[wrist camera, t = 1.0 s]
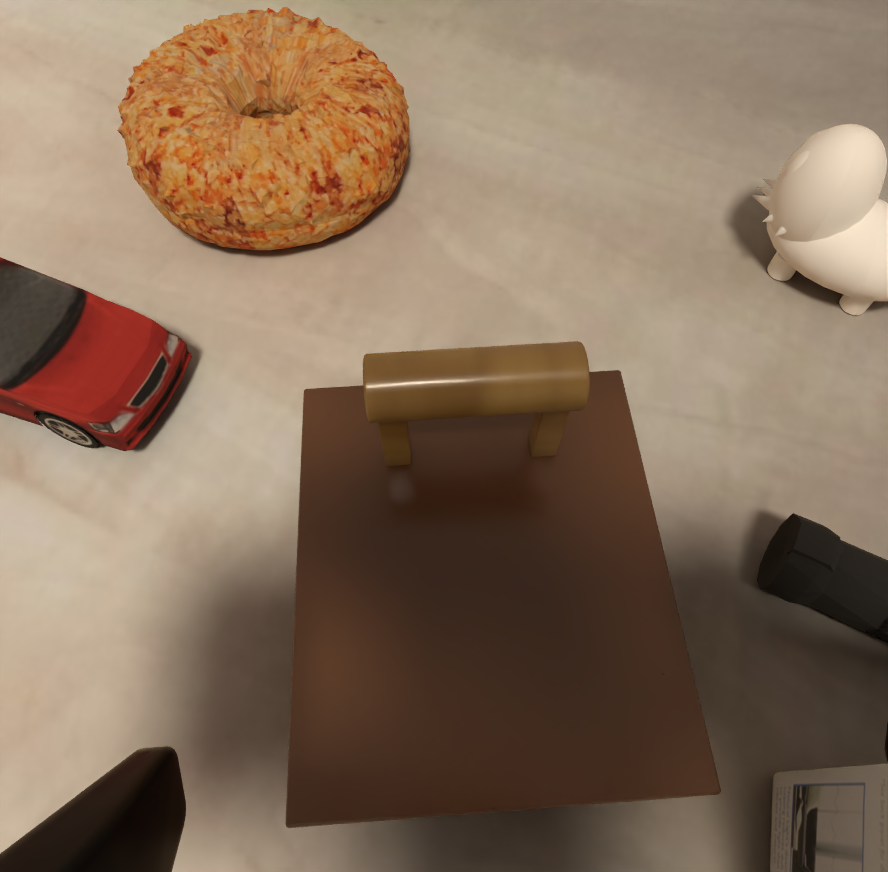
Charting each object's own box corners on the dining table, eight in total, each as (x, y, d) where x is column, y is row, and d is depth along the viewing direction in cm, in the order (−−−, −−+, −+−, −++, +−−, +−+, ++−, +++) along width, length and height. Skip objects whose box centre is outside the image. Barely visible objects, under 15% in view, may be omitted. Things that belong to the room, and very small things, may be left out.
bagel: (131, 283, 28) (73, 190, 24) (160, 92, 35) (119, -9, 31) (425, 257, 29) (420, 161, 25) (400, 73, 36) (393, -28, 31)
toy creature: (753, 206, 30) (819, 77, 25) (928, 283, 28) (1044, 159, 23) (710, 266, 29) (771, 141, 23) (893, 353, 26) (1009, 237, 21)
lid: (308, 402, 20) (269, 290, 15) (615, 383, 20) (661, 269, 16) (292, 826, 14) (224, 839, 10) (710, 794, 15) (820, 793, 10)
